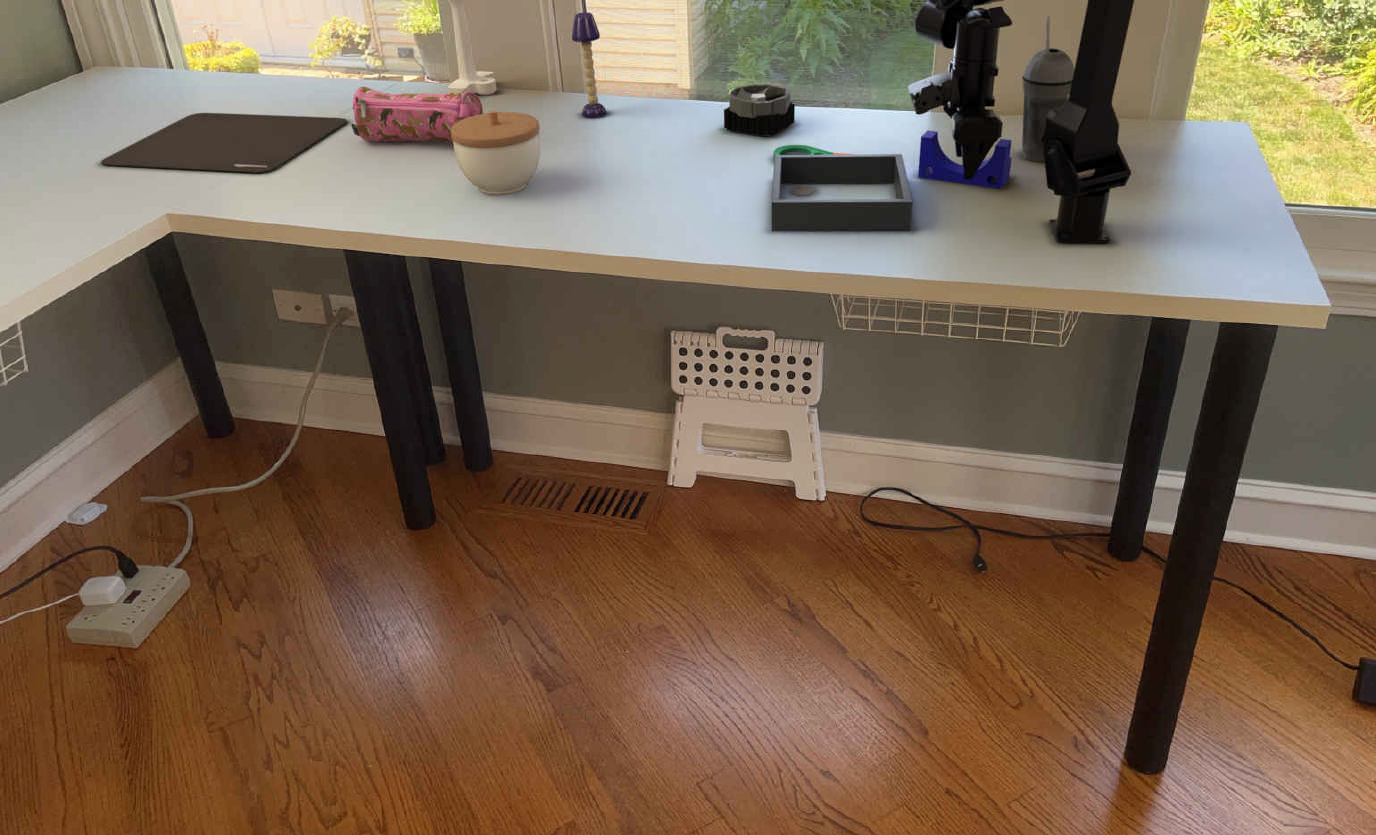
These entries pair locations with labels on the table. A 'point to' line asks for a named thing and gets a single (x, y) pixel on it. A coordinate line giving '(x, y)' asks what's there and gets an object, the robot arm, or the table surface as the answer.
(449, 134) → the pencil case
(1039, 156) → the beverage cup
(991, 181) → the blue u-shaped bracket
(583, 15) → the toy lamp
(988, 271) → the table surface
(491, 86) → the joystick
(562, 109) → the table surface
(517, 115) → the lidded bowl
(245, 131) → the mouse pad
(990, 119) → the robot arm
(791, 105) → the cpu cooler
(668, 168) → the table surface
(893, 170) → the dark grey square tray
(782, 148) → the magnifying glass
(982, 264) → the table surface
